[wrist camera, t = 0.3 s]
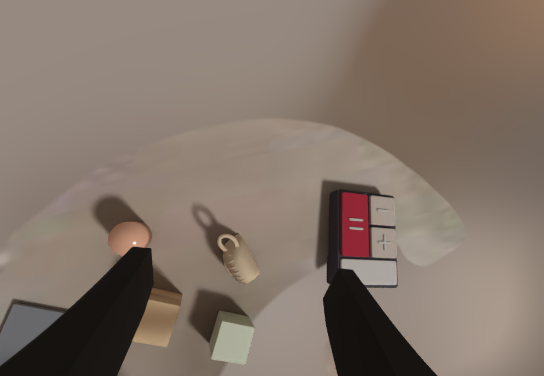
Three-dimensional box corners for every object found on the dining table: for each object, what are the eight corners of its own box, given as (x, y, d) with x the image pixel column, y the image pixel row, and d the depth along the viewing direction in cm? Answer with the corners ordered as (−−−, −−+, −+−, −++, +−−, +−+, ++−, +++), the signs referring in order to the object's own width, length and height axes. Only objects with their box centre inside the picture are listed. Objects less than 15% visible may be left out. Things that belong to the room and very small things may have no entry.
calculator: (397, 195, 44) (402, 288, 41) (380, 198, 48) (383, 284, 45) (340, 188, 41) (340, 288, 38) (327, 192, 45) (326, 283, 42)
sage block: (239, 348, 37) (245, 364, 33) (209, 343, 36) (211, 359, 32) (248, 316, 38) (255, 327, 34) (219, 310, 37) (222, 321, 33)
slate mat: (80, 418, 31) (77, 421, 30) (-31, 407, 28) (-36, 411, 28) (116, 320, 33) (115, 322, 32) (17, 302, 30) (13, 304, 30)
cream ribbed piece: (236, 288, 38) (242, 298, 33) (210, 237, 38) (213, 239, 33) (260, 273, 39) (270, 281, 34) (235, 223, 39) (241, 224, 34)
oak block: (170, 328, 35) (166, 347, 29) (135, 321, 34) (125, 340, 28) (182, 293, 36) (180, 306, 30) (148, 286, 35) (140, 297, 29)
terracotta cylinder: (145, 255, 35) (138, 259, 31) (113, 247, 34) (102, 251, 30) (156, 226, 36) (151, 226, 31) (125, 218, 35) (115, 217, 31)
